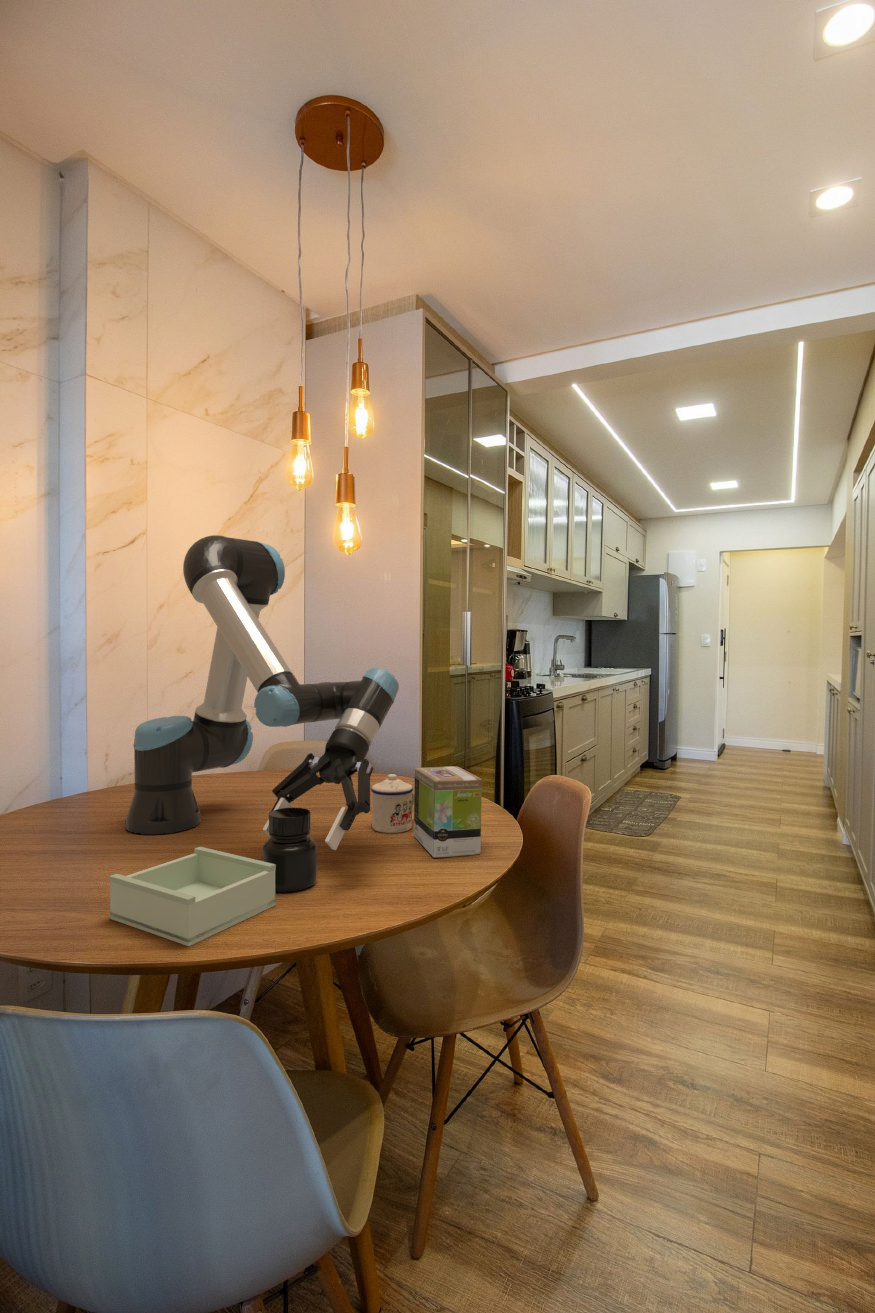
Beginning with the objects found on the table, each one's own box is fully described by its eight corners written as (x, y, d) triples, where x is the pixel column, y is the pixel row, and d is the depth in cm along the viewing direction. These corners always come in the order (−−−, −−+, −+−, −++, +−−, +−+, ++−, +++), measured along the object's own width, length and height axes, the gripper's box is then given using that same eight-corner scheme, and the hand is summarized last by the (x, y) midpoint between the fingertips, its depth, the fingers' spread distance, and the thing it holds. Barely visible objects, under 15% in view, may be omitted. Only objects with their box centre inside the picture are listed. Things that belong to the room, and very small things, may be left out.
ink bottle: (307, 870, 117) (307, 803, 117) (327, 886, 109) (327, 814, 109) (252, 881, 112) (252, 810, 111) (269, 898, 104) (269, 822, 104)
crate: (109, 919, 96) (109, 876, 96) (200, 884, 110) (200, 846, 110) (188, 946, 87) (188, 899, 87) (275, 905, 101) (275, 864, 101)
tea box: (482, 855, 126) (483, 778, 126) (432, 859, 123) (432, 780, 123) (458, 833, 141) (458, 764, 140) (412, 836, 138) (412, 766, 138)
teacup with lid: (394, 836, 138) (394, 780, 138) (362, 829, 143) (362, 775, 143) (429, 824, 147) (429, 772, 147) (398, 817, 153) (398, 767, 153)
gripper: (416, 756, 120) (368, 862, 107) (309, 746, 132) (255, 840, 119) (400, 730, 115) (348, 838, 102) (291, 722, 127) (232, 818, 114)
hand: (298, 840), depth 111 cm, fingers open, 13 cm apart
